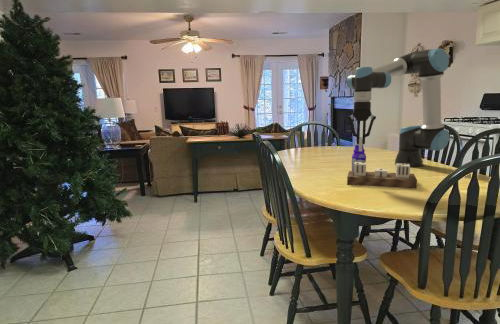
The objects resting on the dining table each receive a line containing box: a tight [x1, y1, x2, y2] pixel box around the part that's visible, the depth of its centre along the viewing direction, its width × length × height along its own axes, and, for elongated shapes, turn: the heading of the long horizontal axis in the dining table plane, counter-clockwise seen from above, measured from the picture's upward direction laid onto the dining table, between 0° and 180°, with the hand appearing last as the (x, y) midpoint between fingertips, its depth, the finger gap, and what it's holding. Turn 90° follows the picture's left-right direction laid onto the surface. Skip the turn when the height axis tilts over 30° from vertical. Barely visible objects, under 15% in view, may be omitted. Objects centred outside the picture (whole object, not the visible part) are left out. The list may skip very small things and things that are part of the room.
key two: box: [354, 161, 367, 176], centre depth 161 cm, size 5×6×6 cm
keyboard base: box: [346, 170, 418, 190], centre depth 158 cm, size 30×13×4 cm, turn 70°
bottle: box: [351, 141, 367, 171], centre depth 176 cm, size 7×6×17 cm
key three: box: [395, 163, 411, 178], centre depth 154 cm, size 5×6×6 cm
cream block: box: [374, 167, 388, 177], centre depth 158 cm, size 5×6×6 cm
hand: (360, 150), depth 159 cm, fingers closed
